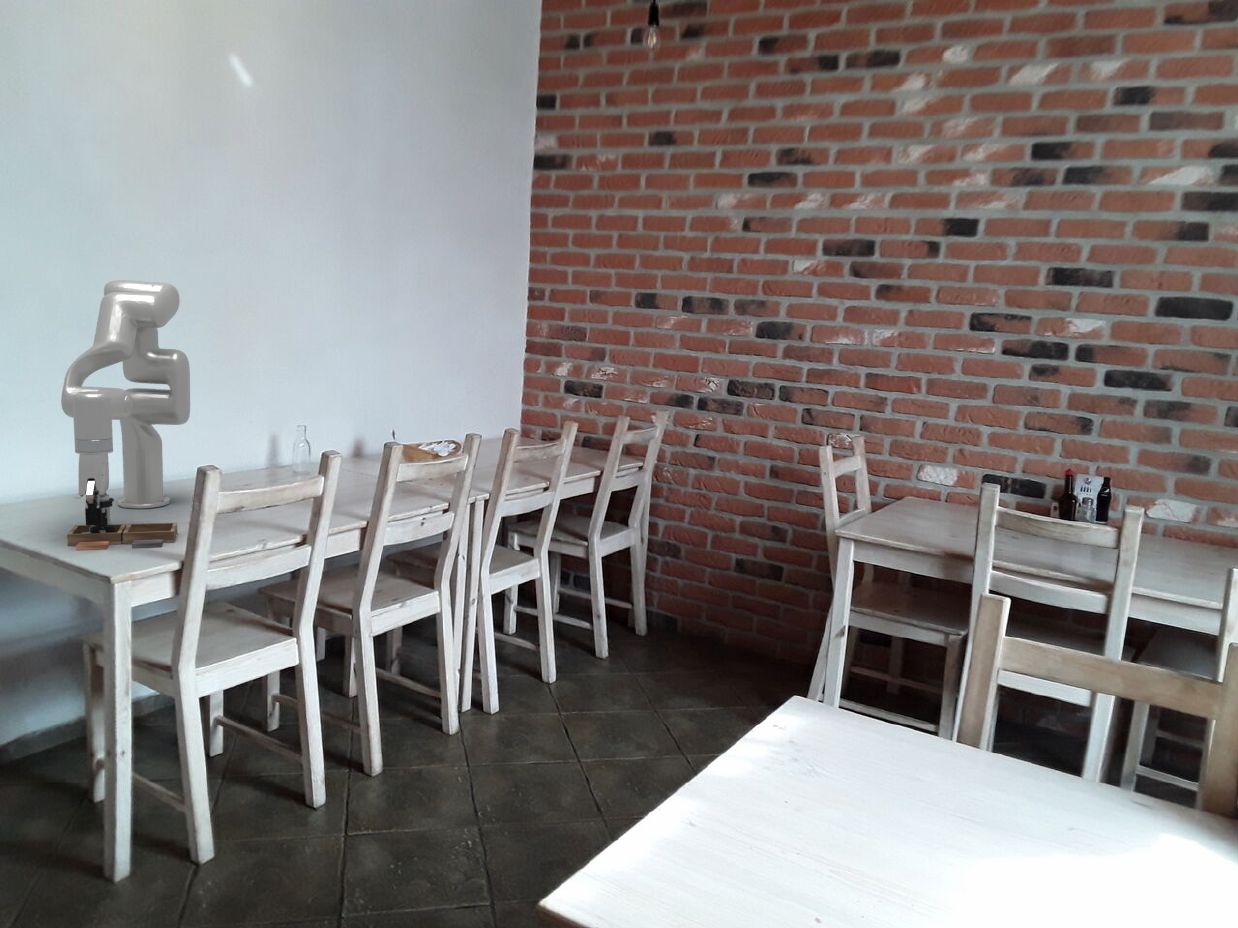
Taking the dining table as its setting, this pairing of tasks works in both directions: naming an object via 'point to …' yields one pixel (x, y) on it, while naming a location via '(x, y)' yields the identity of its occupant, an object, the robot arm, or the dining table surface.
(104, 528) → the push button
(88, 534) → the terracotta tag dock
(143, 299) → the robot arm
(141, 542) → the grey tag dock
